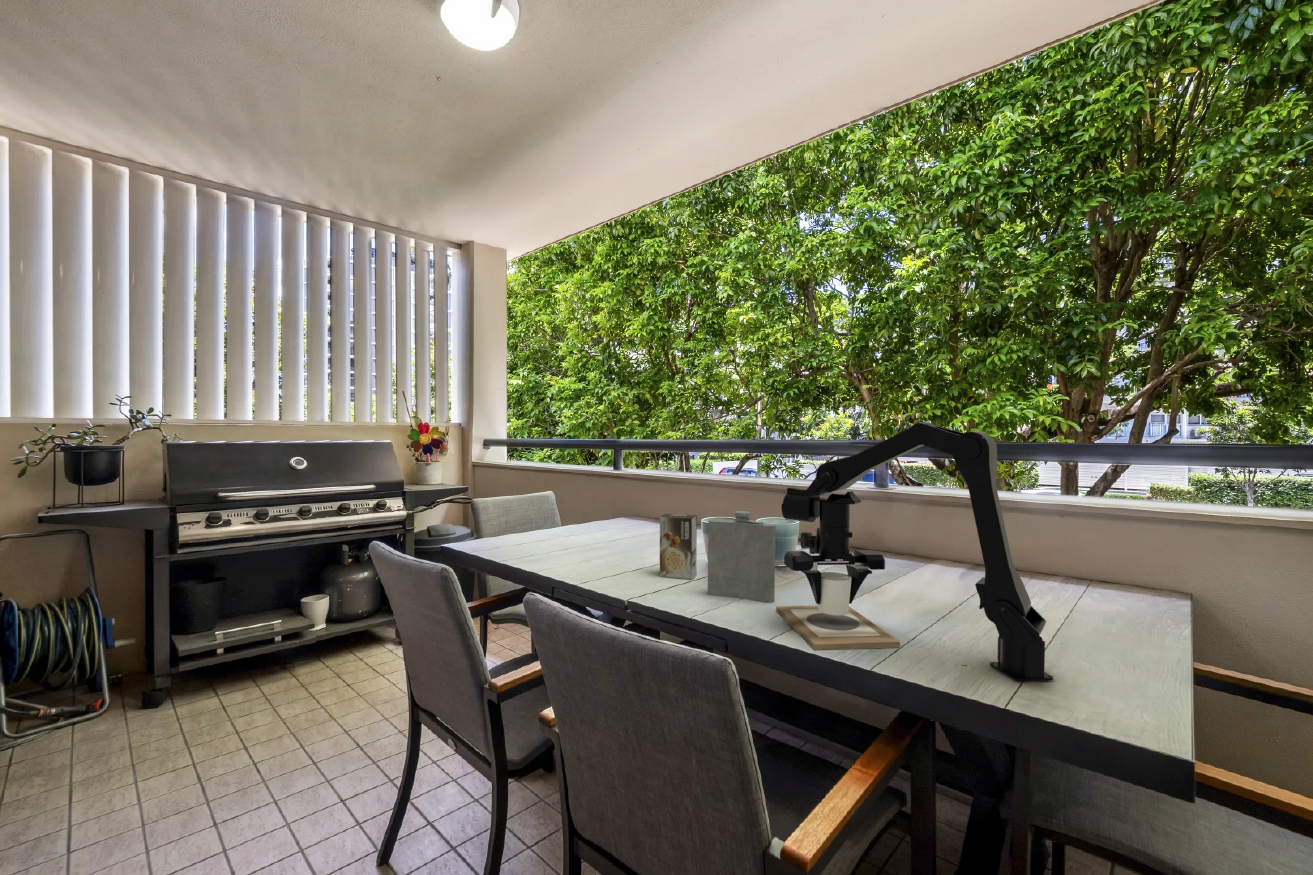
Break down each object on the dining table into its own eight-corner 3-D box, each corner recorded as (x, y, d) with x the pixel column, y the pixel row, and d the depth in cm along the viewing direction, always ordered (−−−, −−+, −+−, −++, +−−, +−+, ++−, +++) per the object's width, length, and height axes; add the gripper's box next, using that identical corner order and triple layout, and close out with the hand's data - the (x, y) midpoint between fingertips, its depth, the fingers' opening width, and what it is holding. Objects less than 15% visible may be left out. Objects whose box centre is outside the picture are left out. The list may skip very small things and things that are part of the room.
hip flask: (705, 594, 135) (706, 510, 135) (711, 590, 139) (712, 508, 139) (772, 603, 129) (774, 515, 129) (776, 598, 133) (777, 512, 132)
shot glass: (853, 617, 109) (854, 581, 109) (816, 614, 111) (817, 578, 111) (849, 606, 116) (849, 572, 116) (814, 604, 118) (814, 570, 117)
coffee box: (697, 574, 154) (698, 514, 154) (692, 579, 148) (693, 518, 148) (665, 571, 157) (665, 513, 157) (658, 576, 151) (659, 516, 151)
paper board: (899, 647, 103) (900, 640, 103) (814, 649, 102) (814, 642, 102) (847, 609, 125) (847, 603, 125) (776, 610, 124) (776, 604, 124)
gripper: (860, 518, 122) (859, 591, 122) (776, 519, 120) (775, 593, 120) (887, 527, 111) (886, 607, 111) (794, 528, 109) (793, 609, 109)
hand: (833, 603), depth 113 cm, fingers closed on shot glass, 6 cm apart
